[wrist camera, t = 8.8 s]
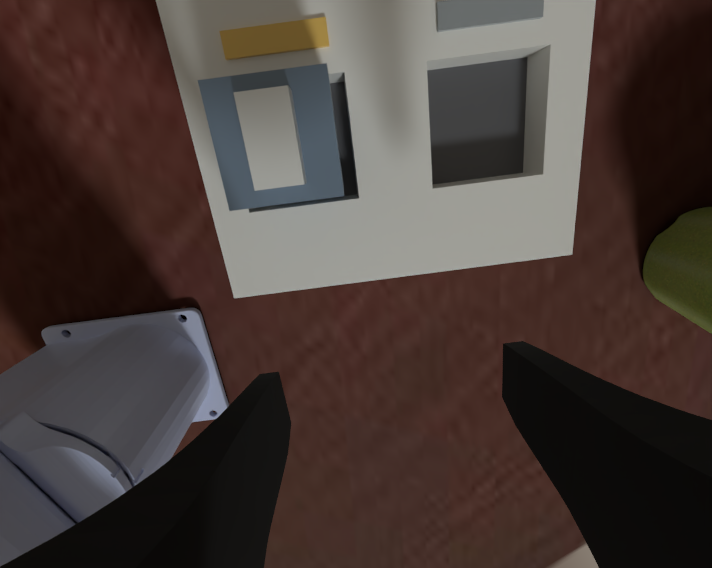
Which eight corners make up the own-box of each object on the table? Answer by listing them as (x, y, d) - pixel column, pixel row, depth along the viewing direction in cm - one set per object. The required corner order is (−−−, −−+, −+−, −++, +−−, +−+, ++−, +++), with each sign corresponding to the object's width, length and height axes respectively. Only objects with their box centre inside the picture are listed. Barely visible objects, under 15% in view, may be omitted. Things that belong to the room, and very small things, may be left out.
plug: (269, 192, 19) (222, 214, 11) (252, 110, 17) (186, 74, 10) (343, 182, 19) (344, 198, 11) (332, 99, 17) (325, 55, 10)
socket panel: (245, 283, 21) (233, 299, 18) (175, -3, 16) (145, -32, 14) (547, 244, 21) (574, 255, 18) (566, -55, 16) (607, -94, 13)
